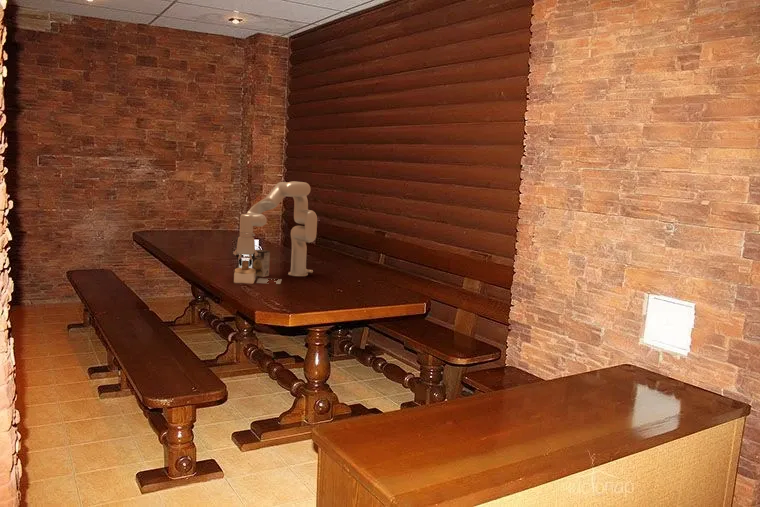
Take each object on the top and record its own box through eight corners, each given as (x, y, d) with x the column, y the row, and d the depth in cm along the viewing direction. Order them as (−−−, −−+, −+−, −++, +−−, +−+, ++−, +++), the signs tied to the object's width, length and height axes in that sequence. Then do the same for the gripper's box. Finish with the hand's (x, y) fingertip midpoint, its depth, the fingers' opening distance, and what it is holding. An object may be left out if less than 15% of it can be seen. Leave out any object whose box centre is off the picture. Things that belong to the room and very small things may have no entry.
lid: (256, 270, 376) (256, 259, 375) (254, 274, 364) (254, 263, 363) (236, 269, 374) (236, 259, 373) (233, 273, 363) (233, 262, 362)
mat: (281, 279, 383) (281, 279, 383) (280, 284, 369) (280, 283, 369) (258, 278, 381) (258, 278, 381) (256, 283, 368) (256, 282, 368)
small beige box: (255, 280, 376) (255, 270, 375) (253, 284, 365) (253, 274, 364) (236, 279, 375) (236, 269, 374) (233, 283, 364) (234, 273, 363)
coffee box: (251, 275, 391) (252, 250, 388) (257, 274, 396) (258, 249, 394) (262, 277, 386) (263, 251, 384) (269, 276, 392) (270, 250, 390)
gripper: (261, 235, 370) (260, 265, 373) (232, 233, 369) (231, 264, 372) (260, 236, 363) (259, 267, 366) (230, 235, 361) (229, 266, 364)
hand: (245, 265), depth 369 cm, fingers open, 4 cm apart
